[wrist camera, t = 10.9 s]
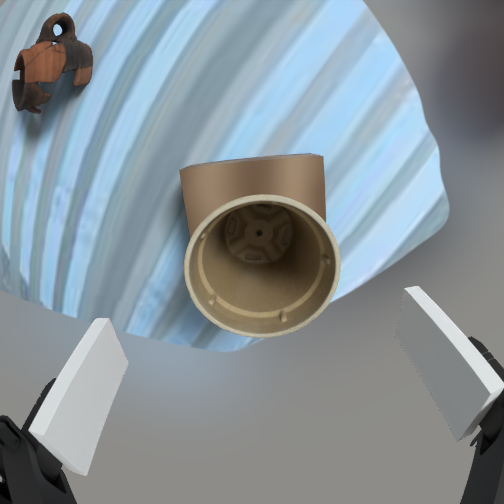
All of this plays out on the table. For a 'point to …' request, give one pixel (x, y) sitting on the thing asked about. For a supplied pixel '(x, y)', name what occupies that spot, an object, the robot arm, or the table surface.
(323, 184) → the walnut stand
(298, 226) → the flower pot
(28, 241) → the table surface
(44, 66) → the broken clay jug
